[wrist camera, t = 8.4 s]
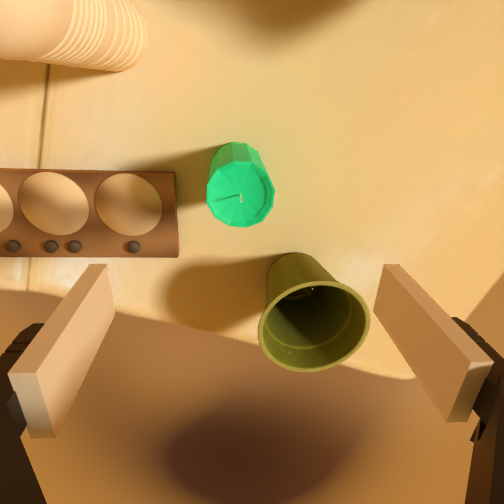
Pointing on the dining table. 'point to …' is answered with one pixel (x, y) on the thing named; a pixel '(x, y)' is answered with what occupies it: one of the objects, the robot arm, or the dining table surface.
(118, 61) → the water bottle
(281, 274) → the plant pot
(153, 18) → the dining table surface
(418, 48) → the dining table surface
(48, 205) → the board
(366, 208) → the dining table surface
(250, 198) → the candle
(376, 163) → the dining table surface
